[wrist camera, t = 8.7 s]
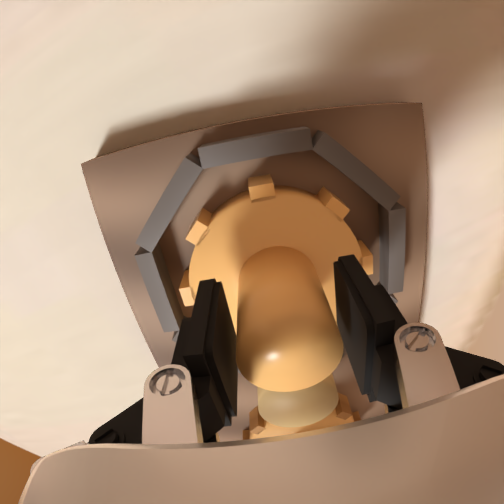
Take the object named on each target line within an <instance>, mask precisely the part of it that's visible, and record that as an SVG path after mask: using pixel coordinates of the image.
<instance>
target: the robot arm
mask: <svg viewBox="0 0 504 504" xmlns="http://www.w3.org/2000/svg"><path fill="white" fill-rule="evenodd" d="M333 267H334V281H335V298H336V318H337V326H338V329H339V332H340V335H341V337H342V341H343V344H344V347H345V349H346V352H347V355H348V358H349V361H350V363H351V366H352V369H353V372H354V375H355V378H356V381H357V383H358V386H359V389H360V392H361V394H362V395H365V394H367V396H368V399H369V402H374V401H379V402H382V403H384V404H385V406H384V408H385V414H383V415H379V416H376V417H372V418H368V419H364V420H359V421H355V422H351V423H347V424H342V425H337V426H333V427H328V428H323V429H317V430H312V431H306V432H300V433H294V434H288V435H281V436H273V437H265V438H257V439H248V440H237V441H225V442H220V439H219V434H218V431H220V430H221V429H222V428H223V427H226V426H231V425H232V417H236V416H237V391H238V367H237V363H236V332H235V329H234V325H233V321H232V318H231V314H230V310H229V307H228V303H227V299H226V296H225V292H224V288H223V284H222V282H221V281H220V282H217V281H216V279H215V278H214V279H208V280H202V281H200V282H199V285H198V290H197V294H196V298H195V302H194V307H193V311H192V316H191V317H189V318H184V319H183V320H182V322H181V326H180V330H179V334H178V338H177V342H176V346H175V350H174V354H173V358H172V362H171V365H165V366H162V367H160V368H158V369H156V370H154V371H153V372H152V373H151V374H150V375H149V376H148V377H147V379H146V381H145V384H144V397H143V398H142V399H140V400H139V401H138V402H136V403H135V404H133V405H132V406H130V407H129V408H127V409H126V410H124V411H123V412H121V413H120V414H119V415H117V416H116V417H114V418H113V419H111V420H110V421H108V422H107V423H105V424H104V425H102V426H101V427H99V428H98V429H97V430H95V431H94V432H93V434H92V435H91V437H90V439H89V442H88V443H85V442H84V441H81V442H78V443H76V444H74V445H71V446H69V447H67V448H64V449H62V450H58V451H56V452H53V453H51V454H49V455H47V456H44V457H42V458H40V459H38V460H37V461H36V462H35V463H34V464H33V465H32V468H31V470H30V477H29V479H28V481H27V483H26V486H25V488H24V490H23V493H22V495H21V498H20V501H19V503H18V504H504V366H503V365H502V364H501V363H499V362H497V361H494V360H491V359H487V358H484V357H480V356H477V355H473V354H470V353H466V352H463V351H459V350H456V349H452V348H449V347H445V346H444V344H443V341H442V339H441V336H440V334H439V333H438V331H437V330H436V329H435V328H434V327H432V326H430V325H428V324H424V323H409V324H408V323H407V321H406V320H405V318H404V317H403V315H402V313H401V312H400V310H399V309H398V307H397V306H396V304H395V303H394V301H393V300H392V298H391V297H390V295H389V294H388V292H387V291H386V289H385V288H384V286H383V285H381V284H379V285H374V284H373V283H372V281H371V280H370V278H369V277H368V275H367V273H366V272H365V270H364V269H363V267H362V266H361V264H360V263H359V261H358V260H357V258H356V257H355V255H354V254H351V255H346V256H340V257H338V261H335V262H334V263H333Z"/></svg>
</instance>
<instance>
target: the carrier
mask: <svg viewBox="0 0 504 504" xmlns="http://www.w3.org/2000/svg"><path fill="white" fill-rule="evenodd" d="M81 166H82V170H83V173H84V177H85V180H86V184H87V187H88V190H89V194H90V197H91V200H92V203H93V207H94V210H95V213H96V216H97V219H98V222H99V225H100V228H101V231H102V234H103V237H104V239H105V242H106V245H107V248H108V251H109V253H110V256H111V259H112V261H113V264H114V267H115V269H116V272H117V274H118V277H119V279H120V282H121V284H122V287H123V289H124V292H125V294H126V297H127V299H128V301H129V304H130V306H131V308H132V311H133V313H134V315H135V318H136V320H137V322H138V324H139V327H140V329H141V331H142V333H143V335H144V338H145V340H146V342H147V344H148V346H149V348H150V350H151V352H152V354H153V356H154V358H155V361H156V363H157V365H158V367H159V368H160V367H162V366H165V365H171V362H172V358H173V354H174V350H175V346H176V342H177V338H178V334H179V330H180V326H181V322H182V320H183V319H184V318H189V317H191V316H192V311H193V307H194V305H192V306H185V305H184V302H183V300H182V297H181V294H180V291H179V287H180V284H181V281H182V278H183V275H184V272H185V270H189V266H190V262H191V257H192V254H193V251H194V248H195V245H194V244H193V243H191V242H189V241H188V240H186V239H185V238H186V236H187V234H188V231H189V229H190V227H191V224H192V223H193V221H194V220H195V218H196V217H197V215H198V213H199V212H200V210H201V209H202V208H204V209H206V210H207V211H209V212H210V213H213V212H214V211H215V210H216V209H217V208H218V207H219V206H220V205H222V204H223V203H224V202H226V201H227V200H228V199H230V198H232V197H233V196H235V195H237V194H239V193H241V192H244V191H246V190H249V188H248V178H250V177H256V176H261V175H267V174H270V175H271V178H272V181H273V184H274V185H284V186H291V187H296V188H300V189H303V190H306V191H308V192H311V193H313V194H315V195H317V194H318V192H319V191H320V190H321V188H322V187H323V186H324V187H325V188H326V189H328V190H329V191H330V192H332V193H333V194H334V195H336V196H337V197H338V198H339V199H340V200H341V201H342V202H343V203H344V204H345V205H346V206H347V207H348V208H349V209H350V211H349V212H348V214H347V215H346V216H345V217H344V219H343V220H344V221H345V223H346V224H347V225H348V226H349V228H350V229H351V231H352V232H353V234H354V236H355V237H356V239H357V240H362V242H363V243H364V244H365V245H366V247H367V248H368V249H369V251H370V252H371V253H372V255H373V274H370V275H368V277H369V278H370V280H371V281H372V283H373V284H374V285H379V284H381V285H383V286H384V288H385V289H386V291H387V292H388V294H389V295H390V297H391V298H392V300H393V301H394V303H395V304H396V306H397V307H398V309H399V310H400V312H401V313H402V315H403V317H404V318H405V320H406V321H407V323H408V324H409V323H418V321H419V314H420V307H421V298H422V289H423V279H424V268H425V254H426V235H427V163H426V144H425V130H424V119H423V109H422V103H409V102H402V103H380V104H364V105H351V106H340V107H329V108H320V109H312V110H304V111H296V112H289V113H282V114H275V115H269V116H263V117H257V118H251V119H246V120H240V121H235V122H230V123H225V124H220V125H215V126H210V127H206V128H201V129H197V130H193V131H188V132H184V133H180V134H176V135H172V136H168V137H164V138H160V139H157V140H153V141H149V142H146V143H142V144H139V145H135V146H132V147H128V148H125V149H122V150H118V151H115V152H112V153H109V154H106V155H103V156H100V157H97V158H94V159H91V160H89V161H87V162H84V163H82V164H81ZM343 347H344V344H343ZM384 406H385V404H384V403H382V402H379V401H374V402H369V399H368V396H367V394H365V395H362V394H361V392H360V389H359V386H358V383H357V381H356V378H355V375H354V372H353V369H352V366H351V363H350V361H349V358H348V355H347V352H346V349H345V347H344V348H343V355H342V358H341V361H340V363H339V364H338V366H337V368H336V369H335V370H334V371H333V372H332V373H331V374H330V375H329V376H328V377H327V378H326V379H324V380H323V381H321V382H319V383H318V384H316V385H314V386H311V387H309V388H305V389H302V390H298V391H291V392H276V391H270V390H265V389H262V388H260V387H257V386H255V385H253V384H252V383H250V382H249V381H248V380H247V379H245V378H244V376H243V375H242V374H241V373H240V371H239V369H238V391H237V416H236V417H232V425H231V426H226V427H223V428H222V429H221V430H220V431H218V434H219V439H220V442H225V441H237V440H248V439H257V438H265V437H273V436H281V435H288V434H294V433H300V432H306V431H312V430H317V429H323V428H328V427H333V426H337V425H342V424H347V423H351V422H355V421H359V420H364V419H368V418H372V417H376V416H379V415H383V414H385V408H384Z"/></svg>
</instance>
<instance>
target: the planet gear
mask: <svg viewBox="0 0 504 504" xmlns="http://www.w3.org/2000/svg"><path fill="white" fill-rule="evenodd" d="M248 188H249V190H246V191H244V192H241V193H239V194H237V195H235V196H233V197H232V198H230V199H228V200H227V201H226V202H224V203H223V204H222V205H220V206H219V207H218V208H217V209H216V210H215V211H214V212H213V213H210V212H209V211H207V210H206V209H204V208H202V209H201V210H200V212H199V213H198V215H197V217H196V218H195V220H194V221H193V223H192V224H191V227H190V229H189V231H188V234H187V236H186V238H185V239H186V240H188V241H189V242H191V243H193V244H194V245H195V248H194V251H193V254H192V257H191V262H190V266H189V270H185V272H184V275H183V278H182V281H181V284H180V287H179V291H180V294H181V297H182V300H183V302H184V305H185V306H192V305H194V302H195V298H196V294H197V290H198V285H199V282H200V281H202V280H208V279H214V278H215V279H216V281H217V282H220V281H221V282H222V284H223V288H224V292H225V296H226V299H227V303H228V307H229V310H230V314H231V318H232V321H233V325H234V329H235V332H236V363H237V367H238V369H239V371H240V373H241V374H242V375H243V376H244V378H245V379H247V380H248V381H249V382H250V383H252V384H253V385H255V386H257V387H260V388H262V389H265V390H270V391H276V392H291V391H298V390H302V389H305V388H309V387H311V386H314V385H316V384H318V383H319V382H321V381H323V380H324V379H326V378H327V377H328V376H329V375H330V374H331V373H332V372H333V371H334V370H335V369H336V368H337V366H338V364H339V363H340V361H341V358H342V355H343V348H344V347H343V341H342V337H341V335H340V332H339V329H338V326H337V318H336V298H335V281H334V267H333V263H334V262H335V261H338V257H340V256H346V255H351V254H354V255H355V257H356V258H357V260H358V261H359V263H360V264H361V266H362V267H363V269H364V270H365V272H366V273H367V275H370V274H373V255H372V253H371V252H370V251H369V249H368V248H367V247H366V245H365V244H364V243H363V242H362V240H357V239H356V237H355V236H354V234H353V232H352V231H351V229H350V228H349V226H348V225H347V224H346V223H345V221H344V220H343V219H344V217H345V216H346V215H347V214H348V212H349V211H350V209H349V208H348V207H347V206H346V205H345V204H344V203H343V202H342V201H341V200H340V199H339V198H338V197H337V196H336V195H334V194H333V193H332V192H330V191H329V190H328V189H326V188H325V187H324V186H323V187H322V188H321V190H320V191H319V192H318V194H317V195H315V194H313V193H311V192H308V191H306V190H303V189H300V188H296V187H291V186H284V185H274V184H273V181H272V178H271V175H270V174H267V175H261V176H256V177H250V178H248Z"/></svg>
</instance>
